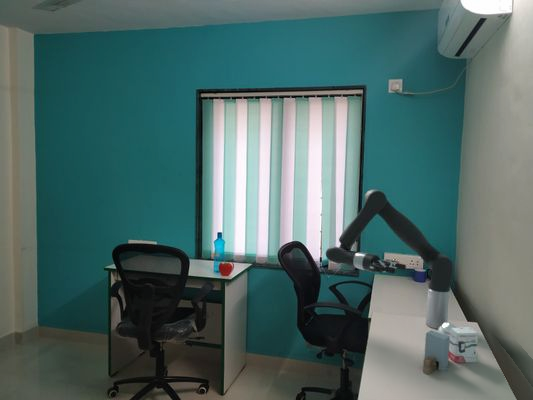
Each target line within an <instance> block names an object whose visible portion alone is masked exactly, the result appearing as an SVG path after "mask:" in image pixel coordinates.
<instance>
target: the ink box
mask: <svg viewBox="0 0 533 400" xmlns="http://www.w3.org/2000/svg"><path fill="white" fill-rule="evenodd" d="M478 337H479V333H478V332H477V331H476V330H475V329H473V328H472V327H469V326H465V327H456V328H451V329H450V345H449V359H450V360H452V361H453V362H454V363H457V364H458V363H476V362H477V349H478Z"/></svg>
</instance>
